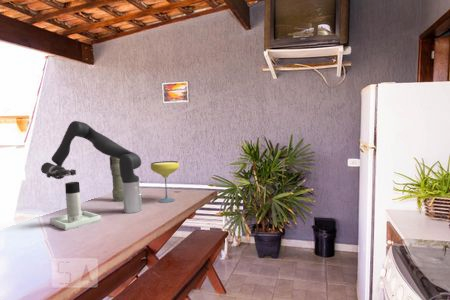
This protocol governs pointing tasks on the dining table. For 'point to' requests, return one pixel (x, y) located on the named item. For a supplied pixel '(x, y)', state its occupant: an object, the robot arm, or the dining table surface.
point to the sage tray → (86, 220)
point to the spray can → (73, 201)
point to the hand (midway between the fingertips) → (64, 174)
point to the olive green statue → (116, 179)
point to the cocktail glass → (165, 173)
